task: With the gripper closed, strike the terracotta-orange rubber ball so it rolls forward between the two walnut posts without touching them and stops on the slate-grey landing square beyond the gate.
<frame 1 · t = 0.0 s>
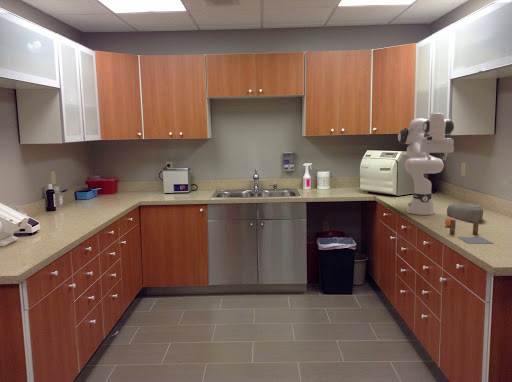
hand: (436, 160, 279), 39 cm above the worktop, tool pointing down, fingers open, 8 cm apart
ball: (449, 221, 265), on the worktop
post 2: (475, 234, 246), on the worktop
stone: (467, 219, 289), on the worktop
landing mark: (475, 240, 232), on the worktop
post 1: (452, 234, 246), on the worktop
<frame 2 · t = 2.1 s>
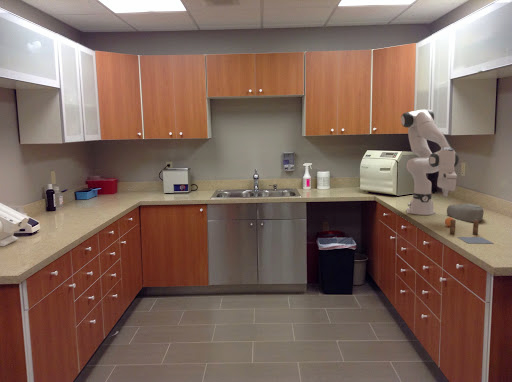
hand: (445, 196, 273), 17 cm above the worktop, tool pointing down, fingers closed
nothing on the worktop moved.
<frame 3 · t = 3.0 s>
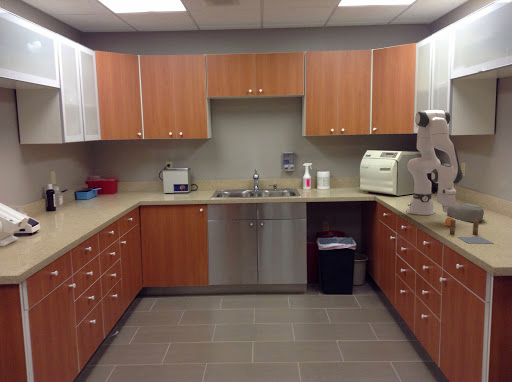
hand: (445, 211, 273), 7 cm above the worktop, tool pointing down, fingers closed
nothing on the worktop moved.
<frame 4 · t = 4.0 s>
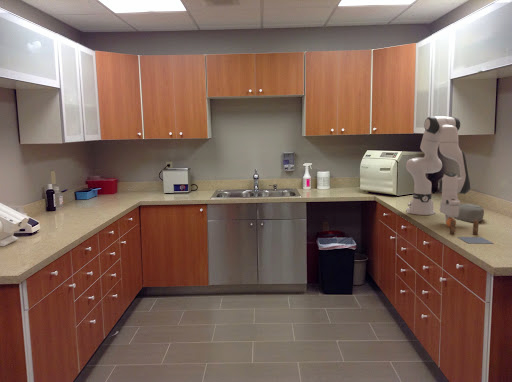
hand: (448, 222, 268), 2 cm above the worktop, tool pointing down, fingers closed
ball: (451, 222, 263), on the worktop, touching gripper
everything else where it was.
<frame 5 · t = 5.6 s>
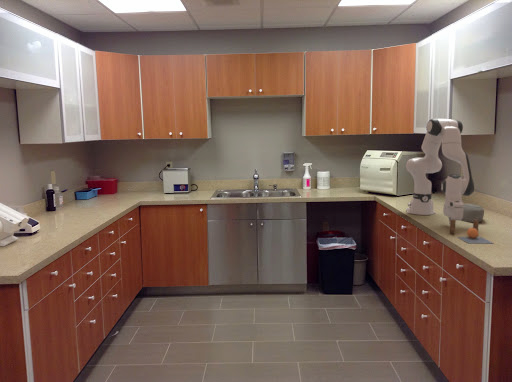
hand: (451, 224, 262), 2 cm above the worktop, tool pointing down, fingers closed
ball: (472, 233, 236), on the worktop
everything else where it was.
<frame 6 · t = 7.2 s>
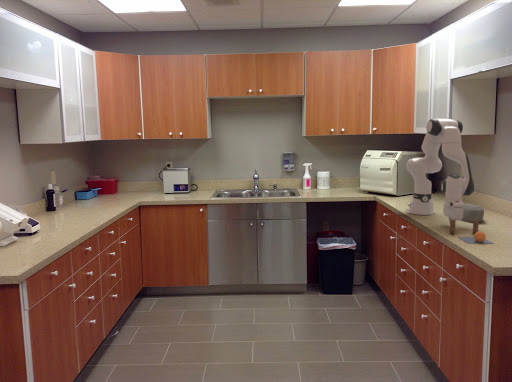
hand: (451, 224, 262), 2 cm above the worktop, tool pointing down, fingers closed
ball: (479, 236, 228), on the worktop
everything else where it was.
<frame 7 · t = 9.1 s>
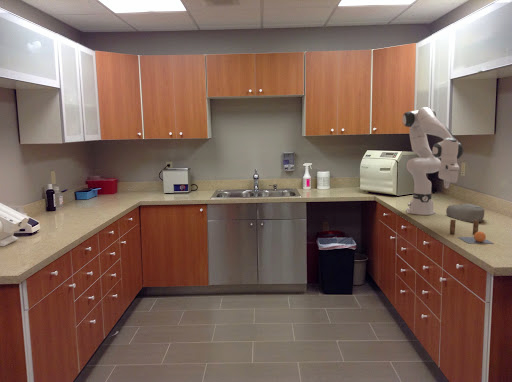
hand: (446, 188, 266), 23 cm above the worktop, tool pointing down, fingers closed
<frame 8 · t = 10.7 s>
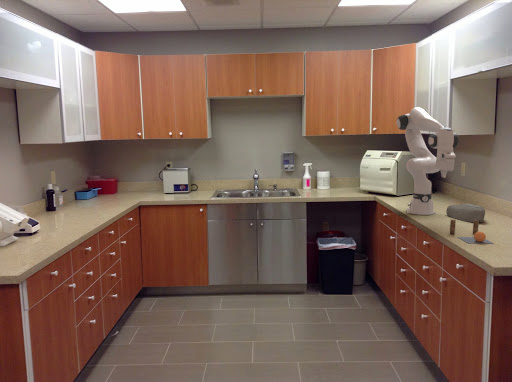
hand: (443, 177, 268), 29 cm above the worktop, tool pointing down, fingers closed
at the end: ball 3.5 cm from the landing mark (horizontally); ball never touched post 2; ball never touched post 1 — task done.
